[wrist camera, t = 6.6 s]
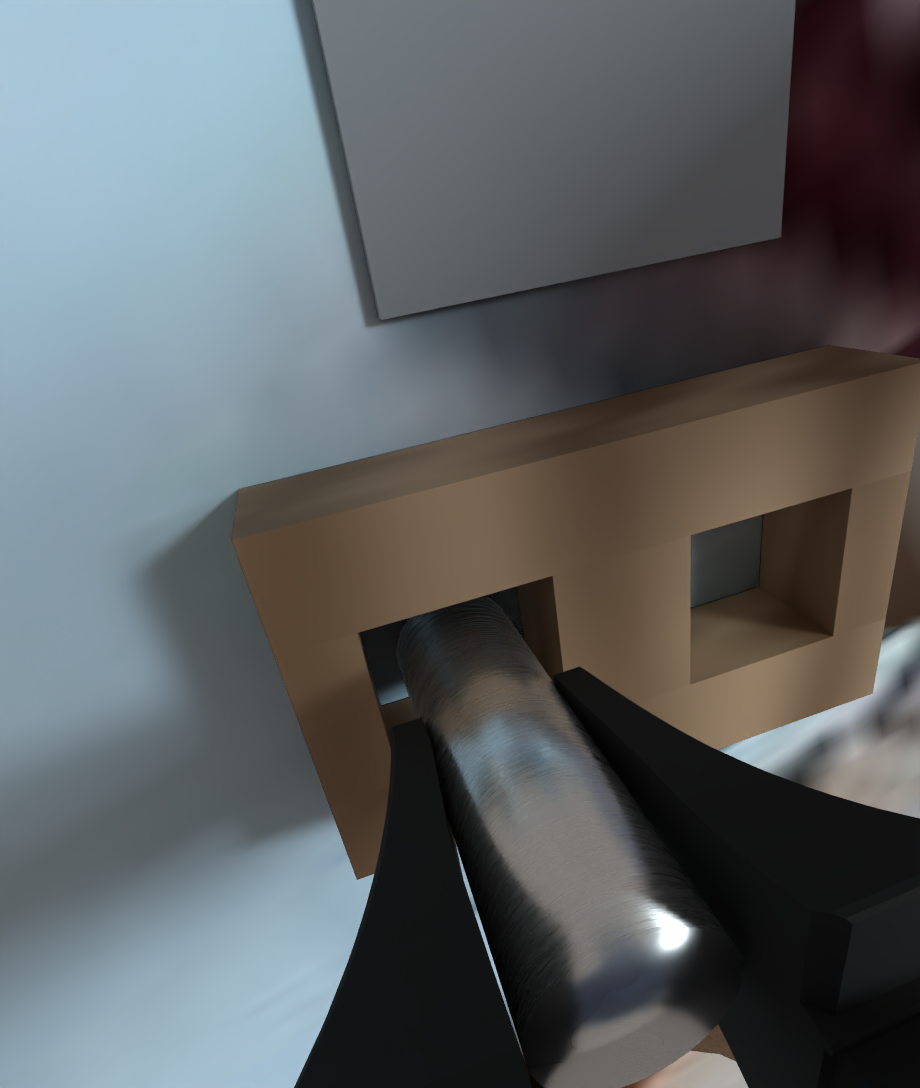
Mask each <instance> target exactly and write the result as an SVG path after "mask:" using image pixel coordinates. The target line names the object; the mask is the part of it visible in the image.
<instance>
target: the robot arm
mask: <svg viewBox="0 0 920 1088" xmlns="http://www.w3.org/2000/svg"><path fill="white" fill-rule="evenodd" d="M554 684H555V686H556V687H557V689H558V690H559V691H560V693H561V694H562V696H563V697H564V699H565V700H566V702H567V703H568V704H569V706H570V707H571V709H572V710H573V712H574V713H575V715H576V716H577V717H578V719H579V720H580V722H581V723H582V725H583V726H584V728H585V729H586V730H587V732H588V733H589V735H590V736H591V738H592V739H593V741H594V742H595V744H596V745H597V746H598V748H599V749H600V751H601V752H602V754H603V755H604V757H605V758H606V759H607V761H608V762H609V764H610V765H611V767H612V768H613V770H614V771H615V772H616V774H617V775H618V777H619V778H620V780H621V781H622V783H623V784H624V785H625V787H626V788H627V790H628V791H629V793H630V794H631V796H632V797H633V798H634V800H635V801H636V803H637V804H638V806H639V807H640V809H641V810H642V811H643V813H644V814H645V816H646V817H647V819H648V820H649V822H650V823H651V825H652V826H653V827H654V829H655V830H656V832H657V833H658V835H659V836H660V838H661V839H662V840H663V842H664V843H665V845H666V846H667V848H668V849H669V851H670V852H671V853H672V855H673V856H674V858H675V859H676V861H677V862H678V864H679V865H680V866H681V868H682V869H683V871H684V872H685V874H686V875H687V877H688V878H689V879H690V881H691V882H692V884H693V885H694V887H695V888H696V890H697V891H698V892H699V894H700V895H701V897H702V898H703V900H704V901H705V903H706V904H707V905H708V907H709V908H710V910H711V911H712V913H713V914H714V916H715V917H716V919H717V920H718V921H719V923H720V924H721V926H722V927H723V929H724V930H725V932H726V933H727V934H728V936H729V937H730V939H731V940H732V942H733V943H734V945H735V946H736V947H737V949H738V950H739V953H740V955H741V958H742V964H743V975H742V980H741V985H740V988H739V990H738V993H737V995H736V997H735V999H734V1001H733V1003H732V1005H731V1007H730V1008H729V1010H728V1011H727V1013H726V1014H725V1016H724V1017H723V1018H722V1019H721V1021H720V1022H719V1023H718V1025H719V1027H720V1029H721V1031H722V1033H723V1035H724V1037H725V1039H726V1041H727V1043H728V1045H729V1047H730V1049H731V1051H732V1054H733V1056H734V1058H735V1060H736V1062H737V1064H738V1066H739V1068H740V1070H741V1073H742V1075H743V1077H744V1079H745V1081H746V1083H747V1085H748V1087H749V1088H920V819H919V818H915V817H911V816H906V815H902V814H898V813H894V812H890V811H886V810H881V809H877V808H874V807H870V806H866V805H863V804H860V803H856V802H853V801H850V800H846V799H843V798H840V797H836V796H833V795H830V794H827V793H824V792H821V791H818V790H815V789H812V788H809V787H806V786H803V785H800V784H798V783H795V782H792V781H790V780H787V779H784V778H782V777H779V776H776V775H773V774H771V773H768V772H766V771H763V770H761V769H759V768H756V767H754V766H751V765H749V764H747V763H745V762H742V761H740V760H738V759H736V758H734V757H731V756H729V755H727V754H725V753H723V752H720V751H718V750H716V749H714V748H712V747H710V746H708V745H706V744H704V743H702V742H701V741H699V740H697V739H695V738H693V737H691V736H689V735H688V734H686V733H684V732H682V731H680V730H679V729H677V728H675V727H673V726H672V725H670V724H668V723H666V722H665V721H663V720H662V719H660V718H658V717H657V716H655V715H653V714H652V713H650V712H648V711H647V710H645V709H644V708H642V707H640V706H639V705H637V704H636V703H634V702H632V701H631V700H629V699H628V698H626V697H625V696H623V695H622V694H620V693H619V692H617V691H616V690H614V689H613V688H611V687H610V686H608V685H607V684H605V683H604V682H602V681H601V680H600V679H598V678H597V677H595V676H594V675H592V674H591V673H589V672H588V671H586V670H585V669H583V668H581V667H577V668H574V669H570V670H567V671H564V672H561V673H558V674H555V675H554ZM389 737H390V746H391V768H390V784H389V793H388V802H387V811H386V818H385V824H384V829H383V835H382V840H381V846H380V851H379V856H378V861H377V865H376V870H375V874H374V878H373V882H372V886H371V890H370V893H369V897H368V901H367V904H366V908H365V911H364V914H363V918H362V921H361V924H360V927H359V930H358V934H357V937H356V940H355V943H354V946H353V949H352V952H351V955H350V958H349V960H348V963H347V966H346V968H345V971H344V973H343V976H342V979H341V981H340V984H339V986H338V989H337V991H336V994H335V997H334V999H333V1002H332V1004H331V1007H330V1009H329V1012H328V1014H327V1017H326V1019H325V1021H324V1024H323V1026H322V1028H321V1031H320V1033H319V1035H318V1037H317V1039H316V1041H315V1044H314V1046H313V1048H312V1050H311V1052H310V1054H309V1057H308V1059H307V1061H306V1063H305V1065H304V1067H303V1070H302V1072H301V1074H300V1076H299V1078H298V1080H297V1083H296V1085H295V1087H294V1088H532V1085H531V1082H530V1079H529V1076H528V1073H527V1069H526V1066H525V1063H524V1060H523V1057H522V1054H521V1051H520V1047H519V1044H518V1041H517V1039H516V1036H515V1033H514V1030H513V1027H512V1024H511V1021H510V1018H509V1015H508V1012H507V1010H506V1007H505V1004H504V1001H503V998H502V995H501V992H500V989H499V986H498V983H497V980H496V977H495V974H494V971H493V968H492V965H491V962H490V959H489V956H488V953H487V950H486V947H485V944H484V941H483V938H482V935H481V932H480V929H479V926H478V923H477V920H476V917H475V914H474V911H473V908H472V905H471V902H470V899H469V896H468V893H467V890H466V887H465V884H464V881H463V876H462V872H461V867H460V862H459V857H458V853H457V848H456V843H455V839H454V835H453V832H452V829H451V826H450V823H449V820H448V817H447V812H446V808H445V804H444V799H443V795H442V790H441V785H440V781H439V776H438V771H437V766H436V762H435V758H434V753H433V749H432V745H431V741H430V739H429V736H428V733H427V730H426V728H425V725H424V722H423V720H422V717H421V718H418V719H415V720H412V721H409V722H406V723H403V724H400V725H396V726H393V727H392V729H391V730H390V732H389Z"/></svg>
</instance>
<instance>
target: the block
mask: <svg viewBox="0 0 920 1088" xmlns="http://www.w3.org/2000/svg"><path fill="white" fill-rule="evenodd" d="M919 422H920V359H918V358H912V357H905V356H898V355H891V354H885V353H878V352H871V351H865V350H858V349H851V348H844V347H838V346H831V345H827V346H823V347H819V348H815V349H811V350H807V351H802V352H798V353H794V354H790V355H786V356H782V357H778V358H774V359H770V360H766V361H762V362H757V363H753V364H749V365H745V366H741V367H737V368H733V369H729V370H725V371H721V372H717V373H712V374H708V375H704V376H700V377H696V378H692V379H688V380H684V381H680V382H676V383H672V384H667V385H663V386H659V387H655V388H651V389H647V390H643V391H639V392H635V393H631V394H627V395H622V396H618V397H614V398H610V399H606V400H602V401H598V402H594V403H590V404H586V405H582V406H577V407H573V408H569V409H565V410H561V411H557V412H553V413H549V414H545V415H541V416H537V417H532V418H528V419H524V420H520V421H516V422H512V423H508V424H504V425H500V426H496V427H492V428H487V429H483V430H479V431H475V432H471V433H467V434H463V435H459V436H455V437H451V438H447V439H442V440H438V441H434V442H430V443H426V444H422V445H418V446H414V447H410V448H406V449H402V450H398V451H393V452H389V453H385V454H381V455H377V456H373V457H369V458H365V459H361V460H357V461H353V462H348V463H344V464H340V465H336V466H332V467H328V468H324V469H320V470H316V471H312V472H308V473H303V474H299V475H295V476H291V477H287V478H283V479H279V480H275V481H271V482H267V483H263V484H258V485H254V486H250V487H246V488H242V489H239V490H238V497H237V504H236V511H235V518H234V525H233V532H232V539H231V541H232V544H233V546H234V549H235V552H236V554H237V557H238V560H239V562H240V565H241V568H242V571H243V573H244V576H245V579H246V581H247V584H248V587H249V589H250V592H251V595H252V598H253V600H254V603H255V606H256V608H257V611H258V614H259V616H260V619H261V622H262V625H263V627H264V630H265V633H266V635H267V638H268V641H269V643H270V646H271V649H272V652H273V654H274V657H275V660H276V662H277V665H278V668H279V670H280V673H281V676H282V679H283V681H284V684H285V687H286V689H287V692H288V695H289V697H290V700H291V703H292V706H293V708H294V711H295V714H296V716H297V719H298V722H299V724H300V727H301V730H302V733H303V735H304V738H305V741H306V743H307V746H308V749H309V751H310V754H311V757H312V760H313V762H314V765H315V768H316V770H317V773H318V776H319V778H320V781H321V784H322V787H323V789H324V792H325V795H326V797H327V800H328V803H329V805H330V808H331V811H332V814H333V816H334V819H335V822H336V824H337V827H338V830H339V832H340V835H341V838H342V841H343V843H344V846H345V849H346V851H347V854H348V857H349V859H350V862H351V865H352V868H353V870H354V873H355V876H356V878H357V880H358V879H361V878H364V877H366V876H369V875H372V874H375V870H376V865H377V861H378V856H379V851H380V846H381V840H382V835H383V829H384V824H385V818H386V811H387V802H388V793H389V784H390V768H391V746H390V737H389V732H390V730H391V729H392V727H393V726H396V725H400V724H403V723H406V722H409V721H412V720H415V719H416V717H415V714H414V710H413V707H412V704H411V701H410V698H406V699H403V700H399V701H396V702H393V703H390V704H387V705H384V706H381V703H380V700H379V696H378V693H377V690H376V686H375V683H374V679H373V676H372V672H371V669H370V665H369V662H368V658H367V655H366V651H365V648H364V644H363V641H362V637H361V634H360V632H362V631H366V630H369V629H373V628H376V627H379V626H383V625H386V624H390V623H393V622H396V621H400V620H403V619H407V618H410V617H414V616H417V615H420V614H424V613H427V612H431V611H434V610H437V609H441V608H444V607H448V606H451V605H455V604H458V603H461V602H465V601H468V600H472V599H475V598H478V597H482V596H485V595H489V594H492V593H496V592H499V591H502V590H506V589H509V588H513V587H516V586H517V592H518V599H519V606H520V613H521V620H522V627H523V634H524V641H525V642H526V644H527V645H528V647H529V648H530V649H531V651H532V652H533V654H534V655H535V657H536V658H537V660H538V661H539V663H540V664H541V665H542V667H543V668H544V670H545V671H546V673H547V674H548V676H549V677H550V678H551V680H552V681H553V683H554V675H555V674H558V673H561V672H564V671H567V670H570V669H574V668H577V667H581V668H583V669H585V670H586V671H588V672H589V673H591V674H592V675H594V676H595V677H597V678H598V679H600V680H601V681H602V682H604V683H605V684H607V685H608V686H610V687H611V688H613V689H614V690H616V691H617V692H619V693H620V694H622V695H623V696H625V697H626V698H628V699H629V700H631V701H632V702H634V703H636V704H637V705H639V706H640V707H642V708H644V709H645V710H647V711H648V712H650V713H652V714H653V715H655V716H657V717H658V718H660V719H662V720H663V721H665V722H666V723H668V724H670V725H672V726H673V727H675V728H677V729H679V730H680V731H682V732H684V733H686V734H688V735H689V736H691V737H693V738H695V739H697V740H699V741H701V742H702V743H704V744H706V745H708V746H710V747H712V748H714V749H716V750H717V749H720V748H723V747H726V746H729V745H731V744H734V743H737V742H740V741H742V740H745V739H748V738H751V737H753V736H756V735H759V734H762V733H764V732H767V731H770V730H773V729H776V728H778V727H781V726H784V725H787V724H789V723H792V722H795V721H798V720H800V719H803V718H806V717H809V716H811V715H814V714H817V713H820V712H823V711H825V710H828V709H831V708H834V707H836V706H839V705H842V704H845V703H847V702H850V701H853V700H856V699H858V698H861V697H864V696H867V695H870V694H872V693H873V688H874V682H875V676H876V670H877V665H878V659H879V653H880V647H881V641H882V636H883V630H884V624H885V618H886V613H887V607H888V601H889V595H890V590H891V584H892V578H893V572H894V567H895V560H896V555H897V549H898V543H899V537H900V532H901V526H902V520H903V514H904V509H905V503H906V497H907V492H908V486H909V480H910V474H911V468H912V463H913V456H914V451H915V445H916V439H917V434H918V428H919ZM762 514H764V517H763V533H762V549H761V565H760V582H759V587H758V588H755V589H751V590H748V591H745V592H742V593H739V594H736V595H732V596H729V597H726V598H723V599H720V600H717V601H713V602H710V603H707V604H704V605H701V606H698V607H694V608H691V609H690V592H691V535H694V534H697V533H700V532H704V531H707V530H711V529H714V528H718V527H721V526H724V525H728V524H731V523H735V522H738V521H741V520H745V519H748V518H752V517H755V516H759V515H762ZM455 843H456V842H455Z"/></svg>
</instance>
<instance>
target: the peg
mask: <svg viewBox="0 0 920 1088" xmlns="http://www.w3.org/2000/svg"><path fill="white" fill-rule="evenodd" d="M397 659H398V663H399V667H400V670H401V673H402V676H403V679H404V682H405V685H406V689H407V692H408V695H409V698H410V701H411V704H412V707H413V710H414V714H415V717H416V719H418V718H421V717H422V720H423V722H424V725H425V728H426V730H427V733H428V736H429V739H430V741H431V745H432V749H433V753H434V758H435V762H436V766H437V771H438V776H439V781H440V785H441V790H442V795H443V799H444V804H445V808H446V812H447V817H448V820H449V823H450V826H451V829H452V832H453V835H454V839H455V842H456V845H457V848H458V851H459V854H460V857H461V860H462V864H463V867H464V870H465V873H466V876H467V879H468V882H469V885H470V889H471V892H472V895H473V898H474V901H475V904H476V907H477V910H478V914H479V917H480V920H481V923H482V926H483V929H484V932H485V935H486V939H487V942H488V945H489V948H490V951H491V954H492V957H493V960H494V964H495V967H496V970H497V973H498V976H499V979H500V982H501V985H502V989H503V992H504V995H505V998H506V1001H507V1004H508V1007H509V1010H510V1014H511V1017H512V1020H513V1023H514V1026H515V1029H516V1032H517V1035H518V1039H519V1042H520V1045H521V1048H522V1051H523V1054H524V1057H525V1060H526V1064H527V1067H528V1069H529V1071H530V1073H531V1075H532V1076H533V1078H534V1079H535V1080H536V1081H537V1082H538V1083H539V1084H541V1085H542V1086H543V1087H545V1088H621V1087H624V1086H627V1085H629V1084H632V1083H635V1082H637V1081H640V1080H642V1079H644V1078H646V1077H649V1076H650V1075H652V1074H654V1073H656V1072H658V1071H660V1070H662V1069H663V1068H665V1067H667V1066H668V1065H670V1064H672V1063H673V1062H675V1061H676V1060H678V1059H679V1058H681V1057H682V1056H683V1055H685V1054H686V1053H688V1052H689V1051H690V1050H691V1049H693V1048H694V1047H695V1046H696V1045H697V1044H699V1043H700V1042H701V1041H702V1040H703V1039H704V1038H705V1037H706V1036H707V1035H708V1034H709V1033H710V1032H711V1031H712V1030H713V1029H714V1028H715V1027H716V1026H717V1024H718V1023H719V1022H720V1021H721V1019H722V1018H723V1017H724V1016H725V1014H726V1013H727V1011H728V1010H729V1008H730V1007H731V1005H732V1003H733V1001H734V999H735V997H736V995H737V993H738V990H739V988H740V985H741V980H742V975H743V964H742V958H741V955H740V953H739V950H738V949H737V947H736V946H735V945H734V943H733V942H732V940H731V939H730V937H729V936H728V934H727V933H726V932H725V930H724V929H723V927H722V926H721V924H720V923H719V921H718V920H717V919H716V917H715V916H714V914H713V913H712V911H711V910H710V908H709V907H708V905H707V904H706V903H705V901H704V900H703V898H702V897H701V895H700V894H699V892H698V891H697V890H696V888H695V887H694V885H693V884H692V882H691V881H690V879H689V878H688V877H687V875H686V874H685V872H684V871H683V869H682V868H681V866H680V865H679V864H678V862H677V861H676V859H675V858H674V856H673V855H672V853H671V852H670V851H669V849H668V848H667V846H666V845H665V843H664V842H663V840H662V839H661V838H660V836H659V835H658V833H657V832H656V830H655V829H654V827H653V826H652V825H651V823H650V822H649V820H648V819H647V817H646V816H645V814H644V813H643V811H642V810H641V809H640V807H639V806H638V804H637V803H636V801H635V800H634V798H633V797H632V796H631V794H630V793H629V791H628V790H627V788H626V787H625V785H624V784H623V783H622V781H621V780H620V778H619V777H618V775H617V774H616V772H615V771H614V770H613V768H612V767H611V765H610V764H609V762H608V761H607V759H606V758H605V757H604V755H603V754H602V752H601V751H600V749H599V748H598V746H597V745H596V744H595V742H594V741H593V739H592V738H591V736H590V735H589V733H588V732H587V730H586V729H585V728H584V726H583V725H582V723H581V722H580V720H579V719H578V717H577V716H576V715H575V713H574V712H573V710H572V709H571V707H570V706H569V704H568V703H567V702H566V700H565V699H564V697H563V696H562V694H561V693H560V691H559V690H558V689H557V687H556V686H555V684H554V683H553V681H552V680H551V678H550V677H549V676H548V674H547V673H546V671H545V670H544V668H543V667H542V665H541V664H540V663H539V661H538V660H537V658H536V657H535V655H534V654H533V652H532V651H531V649H530V648H529V647H528V645H527V644H526V642H525V641H524V639H523V638H522V636H521V635H520V634H519V632H518V631H517V629H516V628H515V626H514V625H513V623H512V622H511V621H510V619H509V618H508V616H507V615H506V613H505V612H504V610H503V609H502V608H501V607H500V606H499V605H498V603H496V602H495V601H494V600H492V599H491V598H489V597H487V596H482V597H478V598H475V599H472V600H468V601H465V602H461V603H458V604H455V605H451V606H448V607H444V608H441V609H437V610H434V611H431V612H427V613H424V614H420V615H417V616H414V617H410V618H408V619H407V621H406V622H405V624H404V625H403V627H402V629H401V632H400V634H399V637H398V642H397Z"/></svg>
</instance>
